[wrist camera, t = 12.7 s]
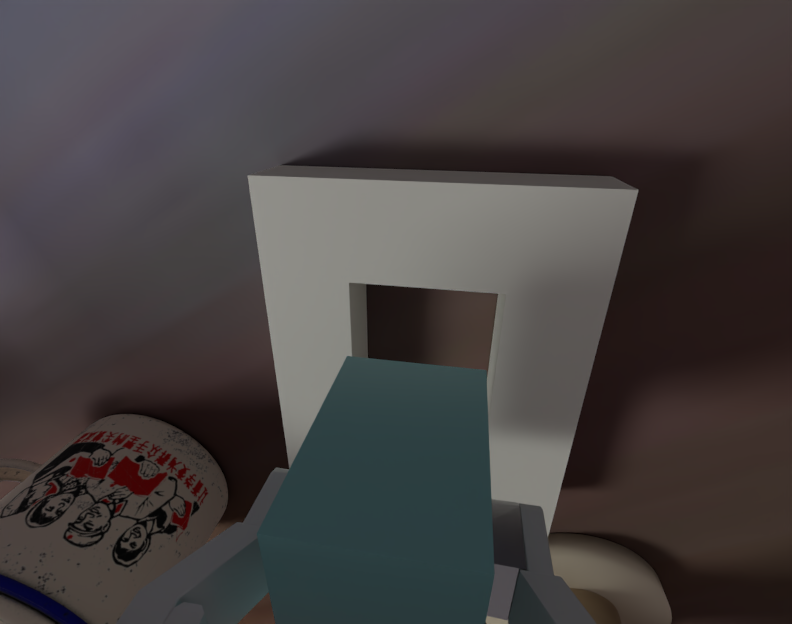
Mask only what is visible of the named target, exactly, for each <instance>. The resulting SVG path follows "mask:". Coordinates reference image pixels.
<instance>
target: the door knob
mask: <svg viewBox="0 0 792 624" xmlns="http://www.w3.org/2000/svg"><path fill="white" fill-rule="evenodd" d="M548 542H549V548H550V554H551V560H552V566H553V572H554V575H555V576H560V577H562V579H563V580H564V581H565V582H566V584H567V585H568V586H569V588H570V589H571V590H572V592H573V593H574V594H575V596H576V597H577V598H578V600H579V601H580V602H581V604H582V605H583V606H584V607H585V609H586V610H587V611H588V613H589V614H590V615H591V617H592V618H593V619H594V621H595V622H596V623H597V624H671V621H672V614H671V609H670V606H669V603H668V600H667V598H666V595H665V593H664V590H663V588H662V585H661V583H660V580H659V577H658V576H657V574H656V572H655V571H654V569H653V568H652V567H651V566H650V565H649V564H648V563H647V562H646V561H645V560H644V559H643V558H642V557H640V556H639V555H637V554H636V553H634V552H633V551H631V550H629V549H628V548H626V547H624V546H622V545H619V544H617V543H614V542H612V541H609V540H605V539H602V538H598V537H593V536H588V535H582V534H572V533H553V534H549V535H548ZM486 623H487V624H508V620H504V619H499V618H494V617H490V616H487V617H486Z"/></svg>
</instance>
